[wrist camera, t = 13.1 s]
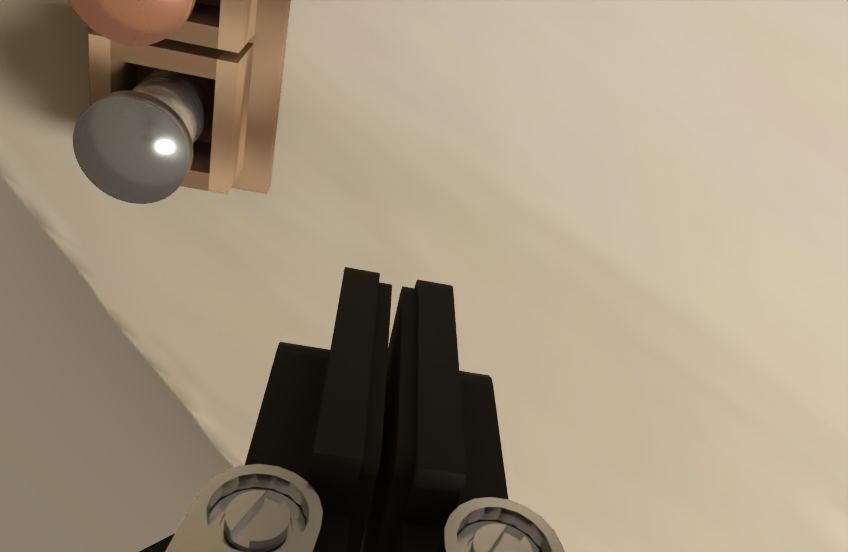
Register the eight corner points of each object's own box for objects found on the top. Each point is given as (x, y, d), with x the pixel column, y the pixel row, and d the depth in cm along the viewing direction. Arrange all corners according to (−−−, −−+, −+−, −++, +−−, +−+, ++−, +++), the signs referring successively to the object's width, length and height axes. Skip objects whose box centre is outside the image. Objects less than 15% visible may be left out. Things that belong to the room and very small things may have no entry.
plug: (133, 42, 39) (71, 86, 32) (230, 61, 39) (190, 109, 32) (132, 133, 41) (74, 192, 34) (223, 150, 42) (185, 212, 35)
